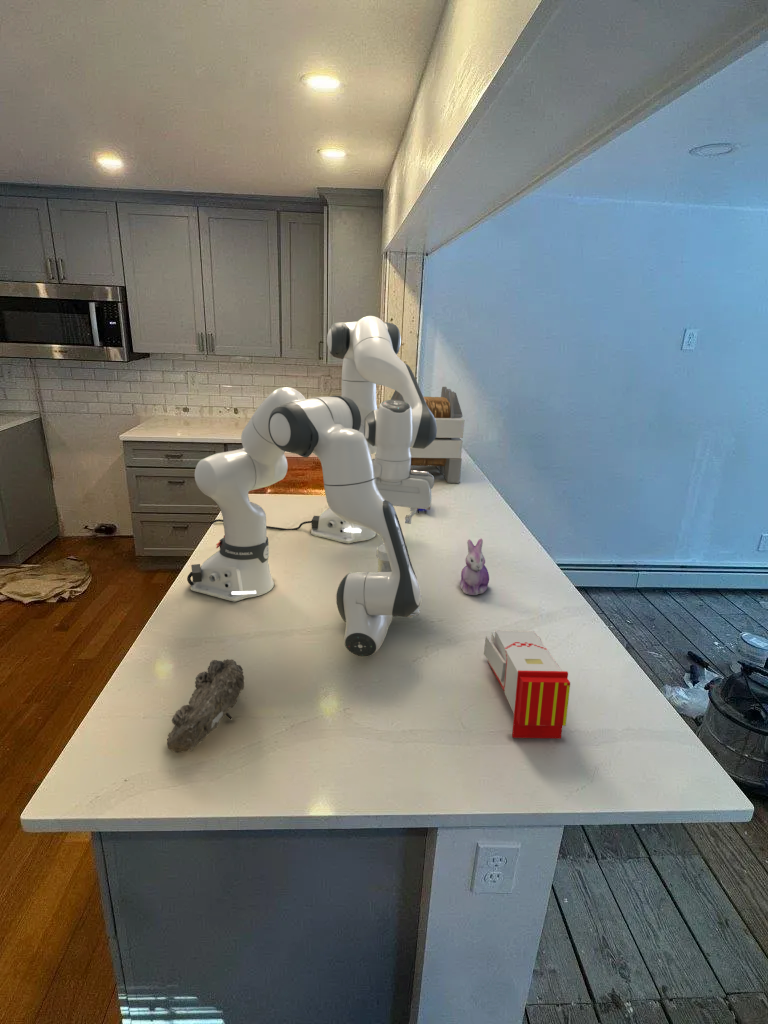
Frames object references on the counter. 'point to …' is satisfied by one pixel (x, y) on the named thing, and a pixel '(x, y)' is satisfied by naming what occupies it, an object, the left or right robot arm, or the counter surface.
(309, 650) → the counter surface
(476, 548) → the figurine
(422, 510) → the figurine character
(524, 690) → the toy
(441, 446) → the transformer
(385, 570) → the jar
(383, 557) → the lid
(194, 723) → the fossil
